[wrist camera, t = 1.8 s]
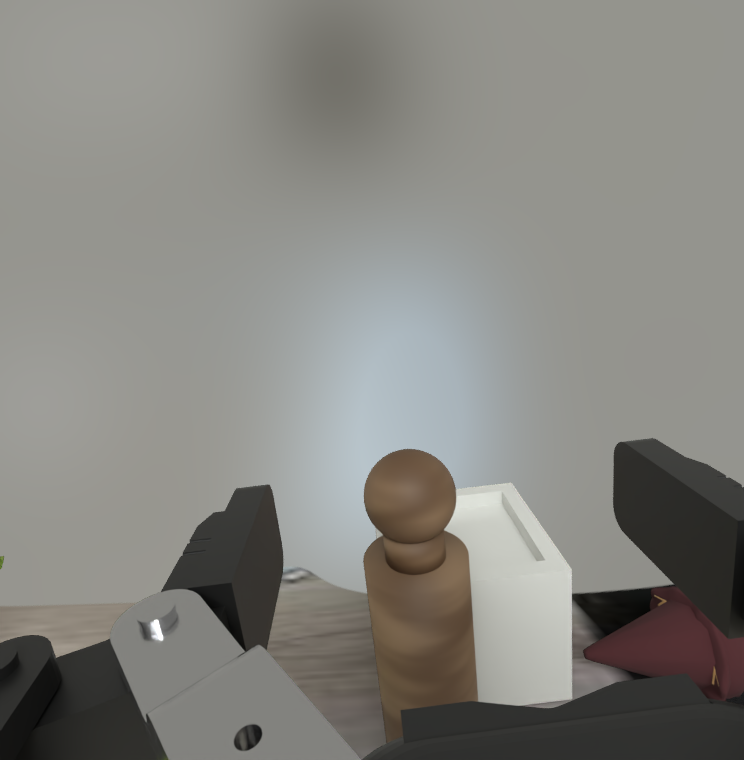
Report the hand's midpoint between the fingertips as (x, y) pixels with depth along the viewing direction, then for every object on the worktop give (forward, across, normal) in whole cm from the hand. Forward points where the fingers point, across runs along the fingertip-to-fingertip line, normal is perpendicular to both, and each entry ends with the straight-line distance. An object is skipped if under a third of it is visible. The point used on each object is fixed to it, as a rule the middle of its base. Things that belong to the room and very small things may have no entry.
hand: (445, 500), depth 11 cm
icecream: (+16, -18, +25) cm, 35 cm away
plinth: (+22, -4, +25) cm, 34 cm away
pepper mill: (+11, 0, +25) cm, 27 cm away
